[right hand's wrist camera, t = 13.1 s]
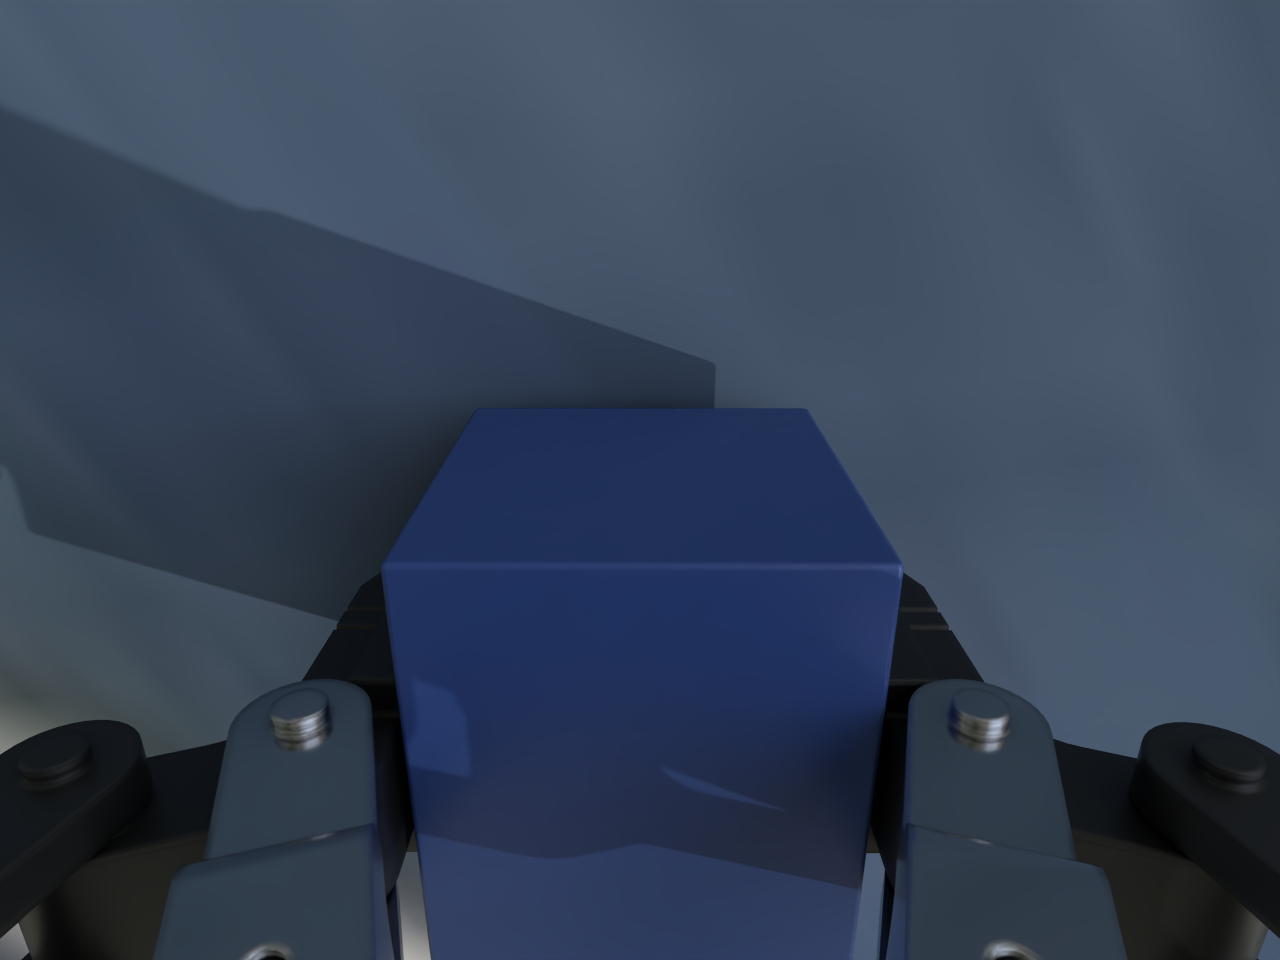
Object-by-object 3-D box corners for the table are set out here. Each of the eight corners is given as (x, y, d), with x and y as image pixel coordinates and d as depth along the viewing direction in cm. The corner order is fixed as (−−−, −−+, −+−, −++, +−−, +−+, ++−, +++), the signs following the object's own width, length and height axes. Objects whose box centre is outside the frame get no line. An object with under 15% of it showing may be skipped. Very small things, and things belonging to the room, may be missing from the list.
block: (807, 406, 12) (907, 563, 7) (784, 702, 13) (853, 967, 9) (474, 406, 12) (377, 563, 7) (497, 701, 13) (430, 967, 9)
